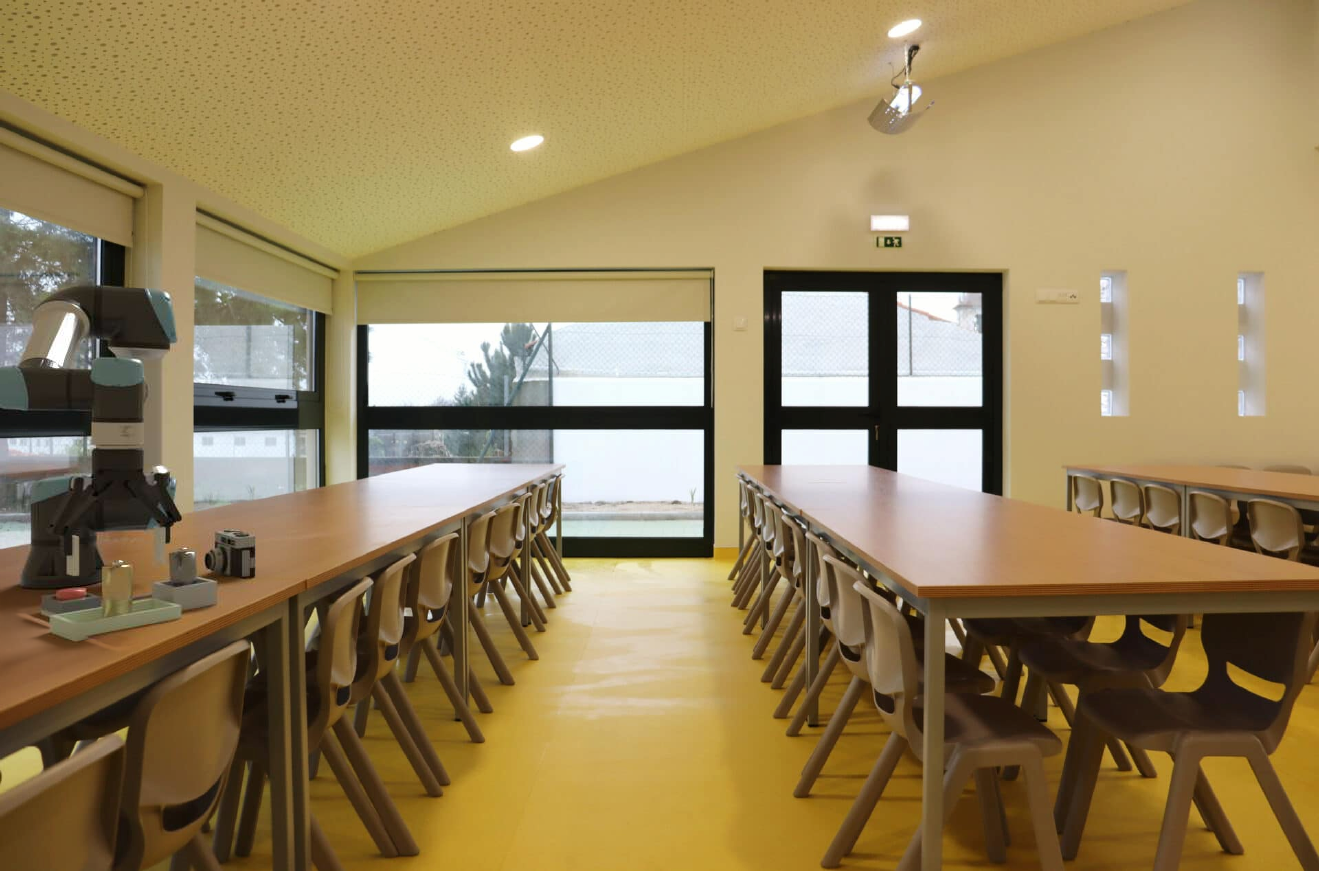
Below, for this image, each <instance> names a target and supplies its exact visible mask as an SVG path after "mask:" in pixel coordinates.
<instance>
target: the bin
mask: <svg viewBox="0 0 1319 871" xmlns="http://www.w3.org/2000/svg"><path fill="white" fill-rule="evenodd" d="M151 583H152V584H151V586H152V587H151V594H152V597H151V599H153V598H156V599H160V600H163V601H167V602H170V603H174V604H178V605H181V612H184V611H188V610H195V609H199V608H204V607H210V606H215V605H218V581H217V580H213V579H209V578H203V577H202V576H201V577H200V576H197V584H192V585H186V586H180V587H174V586H170V579H169V580H163V581H156V582H151Z"/></svg>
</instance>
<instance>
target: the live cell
mask: <svg viewBox="0 0 1319 871" xmlns="http://www.w3.org/2000/svg"><path fill="white" fill-rule="evenodd" d="M133 568H134V567H133V564H132V563H124V560H112V561H111V564H105V566H103V567H102V581H101V584H102V585H101V607H102V618H108V617H113V616H119V615H125V614H130V613H132V608H133V602H134V600H133V597H134V595H133V592H134V591H133V588H134V587H133V578H134V576H133V571H134V570H133Z"/></svg>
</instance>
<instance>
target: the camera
mask: <svg viewBox="0 0 1319 871" xmlns="http://www.w3.org/2000/svg"><path fill="white" fill-rule="evenodd" d="M204 565H205V568H206V570H210V571H211V572H212V573H218V574H221V575H223V576H225V577H228V578H230V577H233V578H238V579H242V580H246V579H254V578H255V577H256V535H253V534H250V533H247V532H243V531H242V530H238V529H237V530H236V529H230V528H226V529H223V530H217V531H214V548H211V549H210V550H209V552H206V553H205V555H204Z"/></svg>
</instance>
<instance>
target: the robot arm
mask: <svg viewBox="0 0 1319 871" xmlns="http://www.w3.org/2000/svg"><path fill="white" fill-rule="evenodd" d="M31 322H32V326H33V331H32V332H31V335H30V337H29V339H28V342H27V344H26V345H25V348H24V350H23V353H22V355H21V358H20V360H19V362H18V364H17V365H16V364H15V365H8V366H3V365H2V366H0V408H1V409H4V410H5V409H6V410H18V411H19V410H21V411H25V412H26V411H78V412H79V411H83V412H85V411H86V412H87V411H88V412H89V411H91V439H90V440H91V441H90V442H91V444H92V445H93V446H95V448H92V450H91V472H88V473H79V474H69V475H62V476H54V477H49V478H48V477H47V478H43V479H40V480H39V479H38V480H36V482H34V483H33V485H32V486H31V489H30V501H29V505H30V549H29V553H28V555H27V558H26V560H25V563H24V565H23V568H22V570H21V573H20V577H19V580H20V581H19V583H20V584H19V585H20V587H23V588H26V589H58V588H59V589H60V588H61V589H62V588H71V587H72V588H74V587H79V586H85V585H91V584H96V583H99V582H100V583H101V582H102V567H103V566H105V565H106V564H105V562H104V559H103V556H102V553H101V551H100V548H99V546H98V533H109V532H112V533H113V532H126V531H128V532H130V531H131V532H132V531H145V532H147V531H151V530H152V531H153V562H154V563H158V564H160V565H161V564H165V563H166V545H167V544H170V542H171V528H172V527H174V524H176V523H177V522H179V523H180V522H181V521H182V520H183V517H182V515H181V513H180V510H179V509H178V507H177V505H176V504H175V498H176V491H177V484H178V479H177V478H175V477H171V470H170V469H169V468H168V467H167V466H165V464H164V463H163V358H164V357H165V356H166V355H168V353H170V352H171V344H172V345H173V344H176V343H178V334H177V333H178V332H177V325H176V318H175V312H174V307H173V300H172V298H171V295H170V294H169V293H168V292H166V291H165V290H159V289H152V288H147V287H144V288H143V287H129V286H128V287H127V286H117V285H116V286H113V285H100V284H91V283H90V284H79V285H73V286H70V287H66V288H63V289H60V290H59V291H56V292H54V293H52V294H50V295H49V296H47V297H46V298H44V299H43V300H42V301H40V303H39V304H37V306H36V308H35V310H34V312H33V314H32V321H31ZM84 339H94V340H95V339H96V340H107V348H108V350H110V351H111V352H112V353H113V354H114V355H115V357H109V356H108V357H106V356H105V357H96V358H94V359H93V360H92V364H91V369H89V368H87V369H86V368H72V366H73V362H74V359H75V356H76V353H77V350H78V347H79V343H80V342H81V341H83V340H84Z"/></svg>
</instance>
